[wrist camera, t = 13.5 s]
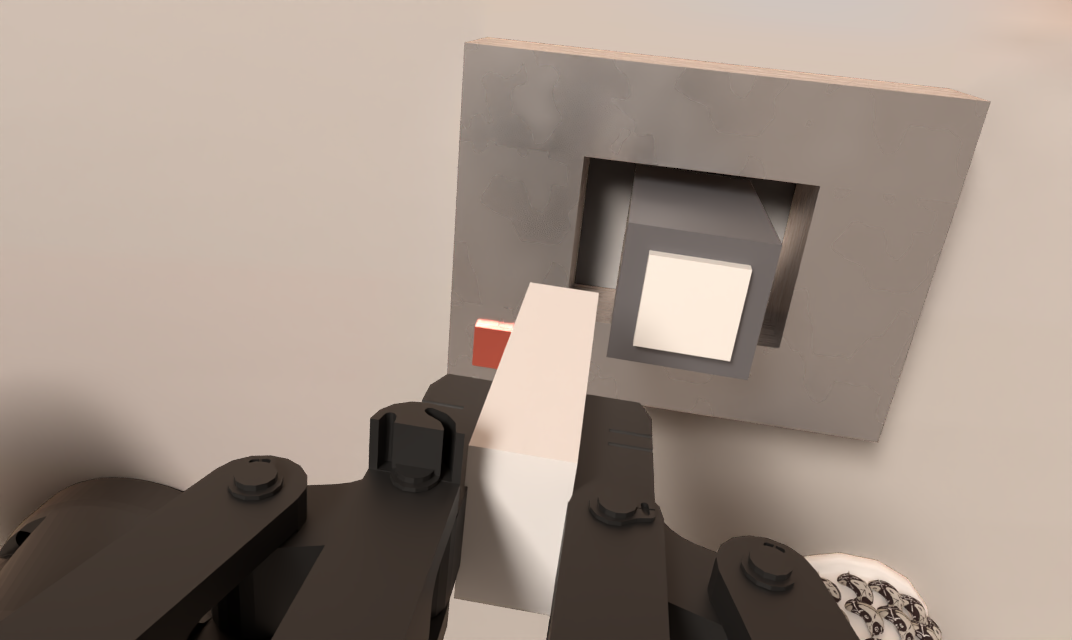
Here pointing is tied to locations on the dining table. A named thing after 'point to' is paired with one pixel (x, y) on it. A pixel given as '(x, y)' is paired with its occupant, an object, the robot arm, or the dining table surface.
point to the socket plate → (727, 148)
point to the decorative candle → (875, 598)
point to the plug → (693, 273)
